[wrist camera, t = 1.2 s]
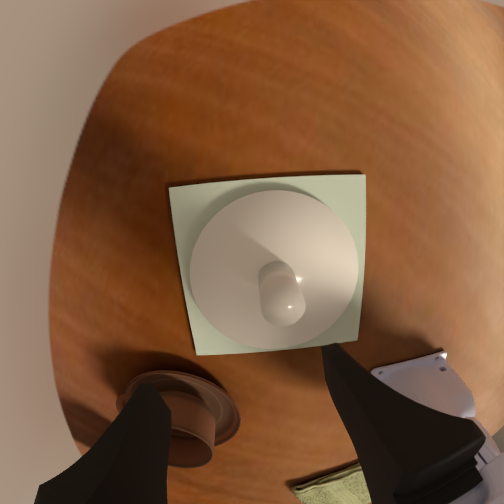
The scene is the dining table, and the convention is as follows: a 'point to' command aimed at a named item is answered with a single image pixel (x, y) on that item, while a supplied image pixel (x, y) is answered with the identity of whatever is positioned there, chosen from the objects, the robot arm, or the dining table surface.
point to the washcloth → (336, 488)
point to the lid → (273, 269)
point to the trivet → (222, 193)
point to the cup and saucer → (190, 414)
